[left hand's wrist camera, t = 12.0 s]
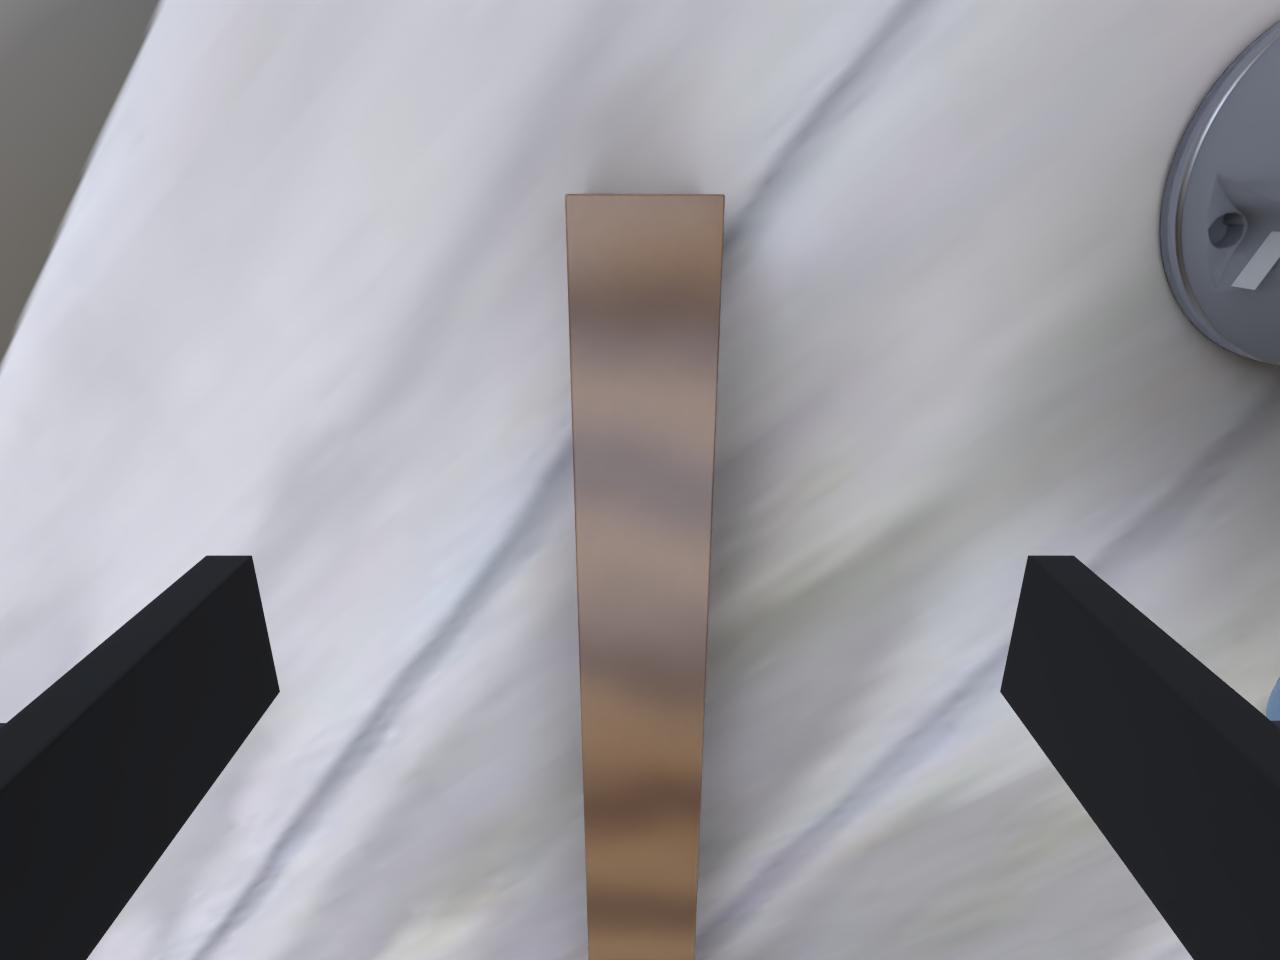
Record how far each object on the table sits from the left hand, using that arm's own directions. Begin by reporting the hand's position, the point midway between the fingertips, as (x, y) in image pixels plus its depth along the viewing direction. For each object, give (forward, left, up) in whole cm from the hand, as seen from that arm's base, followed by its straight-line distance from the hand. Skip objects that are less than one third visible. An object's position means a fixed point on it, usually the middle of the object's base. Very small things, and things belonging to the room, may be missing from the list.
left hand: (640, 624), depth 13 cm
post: (-12, +20, -23) cm, 33 cm away
